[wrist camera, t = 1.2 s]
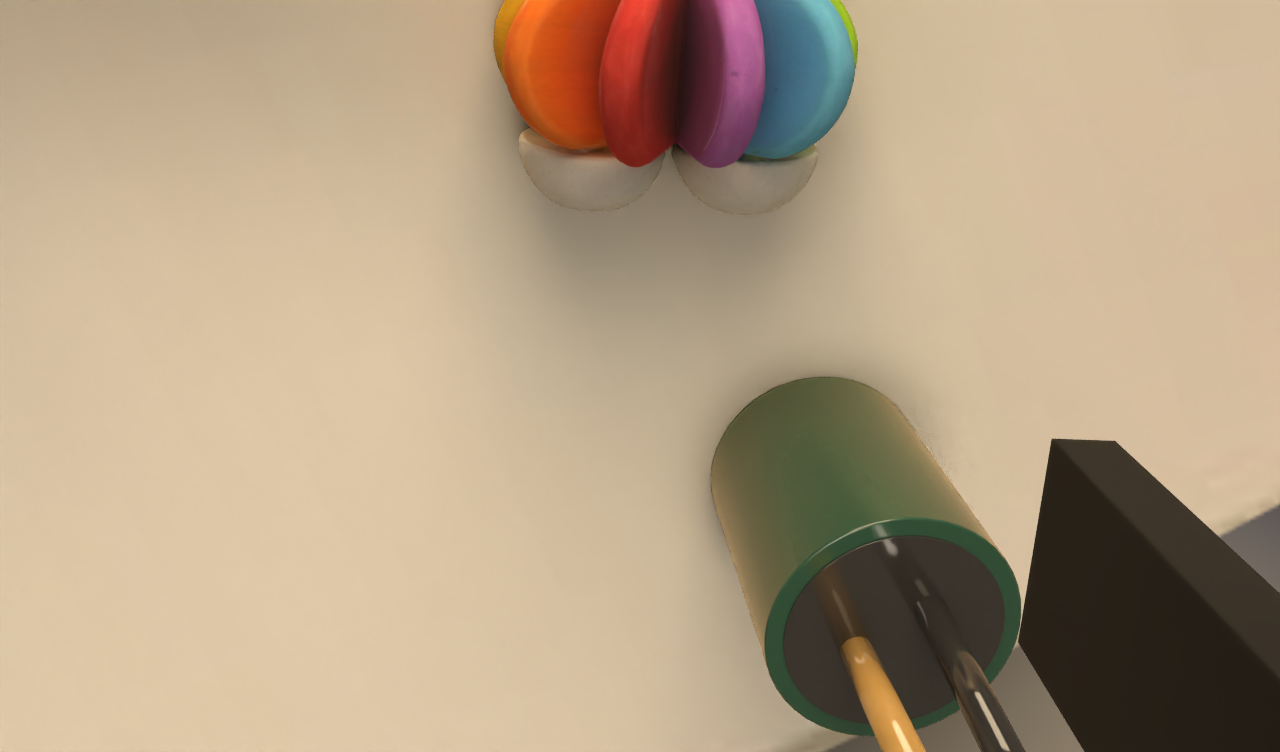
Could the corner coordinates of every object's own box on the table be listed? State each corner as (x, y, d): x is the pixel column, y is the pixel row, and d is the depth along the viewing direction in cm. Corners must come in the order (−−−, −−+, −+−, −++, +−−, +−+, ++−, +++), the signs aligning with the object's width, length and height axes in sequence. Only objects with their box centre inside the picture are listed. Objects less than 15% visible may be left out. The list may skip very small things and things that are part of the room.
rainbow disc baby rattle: (495, -133, 31) (494, -130, 25) (852, -111, 33) (941, -101, 26) (492, 182, 35) (490, 259, 28) (816, 192, 36) (887, 268, 29)
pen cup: (683, 538, 40) (788, 941, 26) (750, 354, 38) (910, 680, 23) (871, 578, 42) (1074, 981, 27) (947, 403, 39) (1219, 740, 24)
